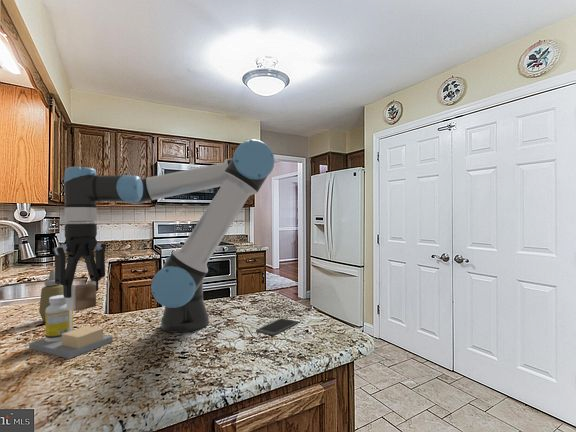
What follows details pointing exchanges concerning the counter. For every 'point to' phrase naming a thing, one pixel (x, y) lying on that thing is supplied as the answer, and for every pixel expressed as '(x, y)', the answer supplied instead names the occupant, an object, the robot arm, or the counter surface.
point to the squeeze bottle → (49, 293)
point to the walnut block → (85, 296)
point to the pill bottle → (58, 318)
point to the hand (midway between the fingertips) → (81, 306)
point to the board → (65, 349)
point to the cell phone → (277, 327)
